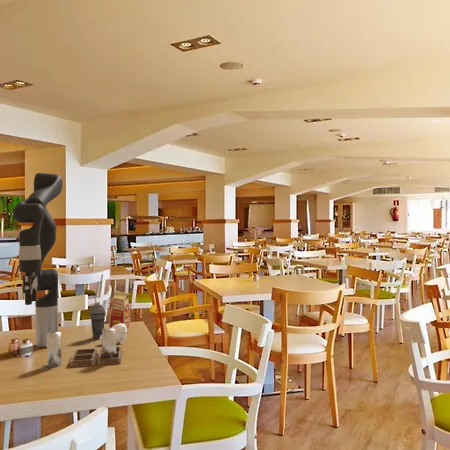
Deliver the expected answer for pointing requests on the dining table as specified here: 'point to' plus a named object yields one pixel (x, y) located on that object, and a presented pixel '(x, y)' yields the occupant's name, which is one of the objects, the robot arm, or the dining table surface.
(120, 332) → the white animal figurine
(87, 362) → the tray
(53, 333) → the steel billet
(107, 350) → the cylinder
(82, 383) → the dining table surface
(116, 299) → the milk carton
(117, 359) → the tray
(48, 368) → the rubber mat
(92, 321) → the beverage cup
